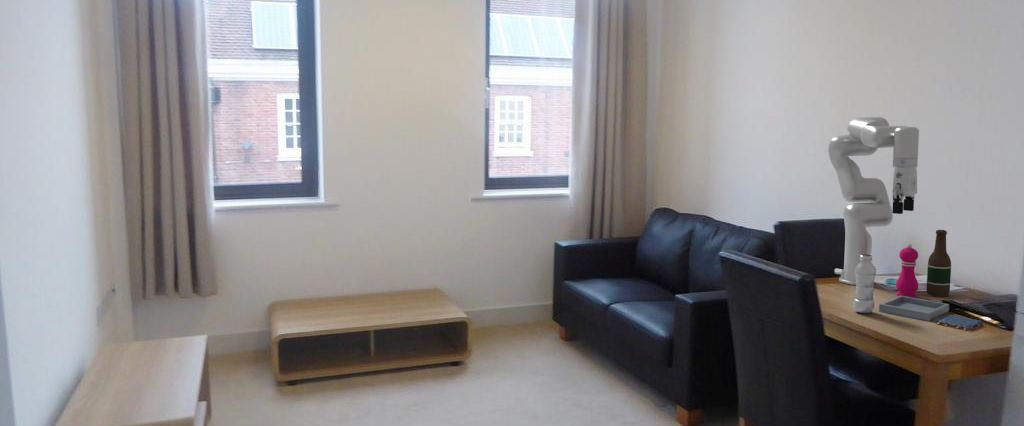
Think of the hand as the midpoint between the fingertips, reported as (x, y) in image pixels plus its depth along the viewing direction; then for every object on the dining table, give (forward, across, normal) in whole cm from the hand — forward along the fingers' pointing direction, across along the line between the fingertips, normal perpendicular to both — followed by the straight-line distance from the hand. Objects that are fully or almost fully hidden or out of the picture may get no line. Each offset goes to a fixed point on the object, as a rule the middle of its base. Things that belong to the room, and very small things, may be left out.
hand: (903, 212), depth 254 cm
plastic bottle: (+33, -19, +5) cm, 38 cm away
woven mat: (+34, -12, -23) cm, 43 cm away
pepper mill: (+33, +10, +1) cm, 34 cm away
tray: (+33, -6, -7) cm, 34 cm away
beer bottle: (+33, +22, -5) cm, 40 cm away
